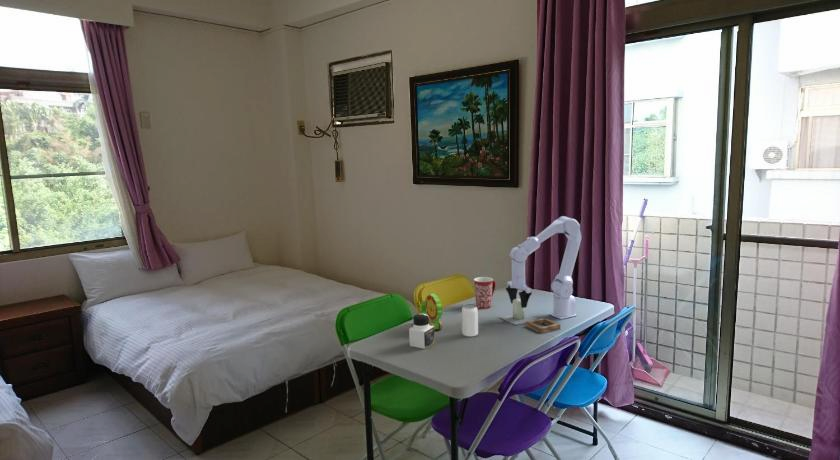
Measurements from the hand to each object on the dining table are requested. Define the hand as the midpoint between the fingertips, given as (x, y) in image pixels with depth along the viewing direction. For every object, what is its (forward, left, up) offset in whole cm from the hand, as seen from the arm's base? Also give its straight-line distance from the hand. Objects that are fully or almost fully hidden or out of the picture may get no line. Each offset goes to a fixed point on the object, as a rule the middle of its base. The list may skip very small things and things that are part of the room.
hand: (518, 305), depth 227 cm
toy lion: (+38, -11, -7) cm, 40 cm away
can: (+28, +5, -7) cm, 29 cm away
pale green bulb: (0, 0, -6) cm, 6 cm away
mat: (0, 0, -6) cm, 6 cm away
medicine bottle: (+50, +5, -7) cm, 51 cm away
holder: (-2, +14, -6) cm, 16 cm away
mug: (+1, -24, -7) cm, 25 cm away
